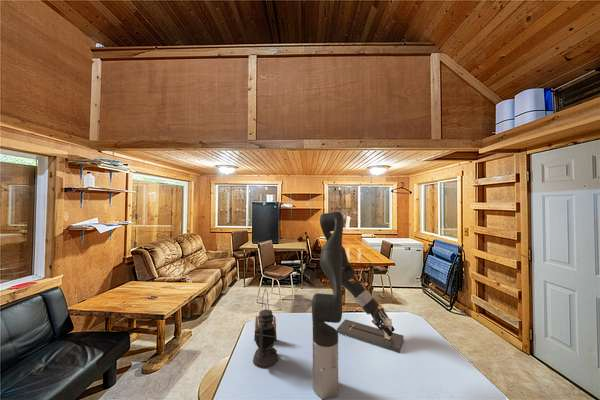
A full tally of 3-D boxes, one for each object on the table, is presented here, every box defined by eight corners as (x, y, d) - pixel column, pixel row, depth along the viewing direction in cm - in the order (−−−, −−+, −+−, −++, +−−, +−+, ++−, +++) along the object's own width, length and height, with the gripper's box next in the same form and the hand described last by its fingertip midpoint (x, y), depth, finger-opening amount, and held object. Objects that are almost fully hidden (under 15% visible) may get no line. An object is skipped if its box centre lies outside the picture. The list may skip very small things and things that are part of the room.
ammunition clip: (276, 339, 113) (276, 315, 113) (276, 342, 111) (276, 316, 111) (255, 339, 114) (255, 314, 114) (254, 341, 112) (254, 316, 112)
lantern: (272, 371, 91) (272, 295, 92) (247, 367, 93) (248, 293, 94) (281, 351, 103) (281, 284, 104) (259, 348, 106) (259, 282, 106)
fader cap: (384, 338, 110) (384, 321, 110) (386, 334, 113) (386, 317, 113) (390, 339, 109) (389, 322, 109) (391, 335, 112) (391, 319, 112)
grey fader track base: (336, 332, 119) (336, 328, 119) (345, 322, 129) (345, 319, 129) (399, 353, 103) (399, 348, 103) (403, 339, 113) (403, 335, 113)
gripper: (368, 302, 109) (395, 336, 103) (375, 292, 121) (400, 322, 115) (357, 311, 112) (383, 344, 105) (365, 300, 124) (389, 330, 117)
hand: (392, 332), depth 110 cm, fingers closed on fader cap, 4 cm apart
